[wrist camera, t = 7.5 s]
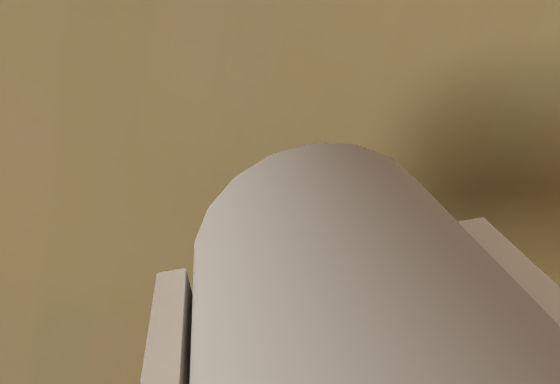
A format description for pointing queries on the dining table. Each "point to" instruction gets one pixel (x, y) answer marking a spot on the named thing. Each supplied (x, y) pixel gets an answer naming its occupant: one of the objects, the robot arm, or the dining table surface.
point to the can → (354, 283)
